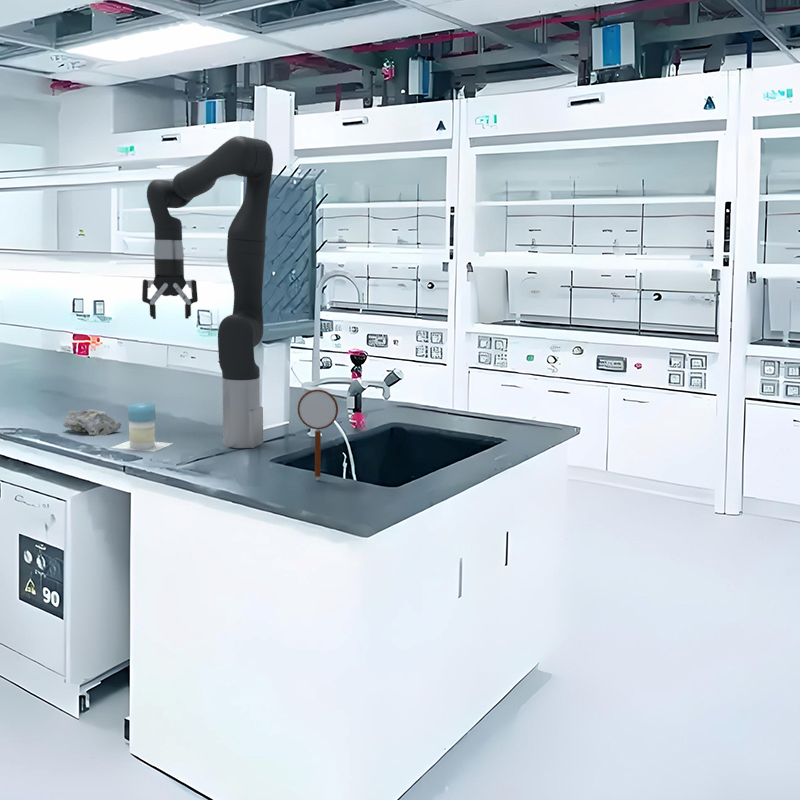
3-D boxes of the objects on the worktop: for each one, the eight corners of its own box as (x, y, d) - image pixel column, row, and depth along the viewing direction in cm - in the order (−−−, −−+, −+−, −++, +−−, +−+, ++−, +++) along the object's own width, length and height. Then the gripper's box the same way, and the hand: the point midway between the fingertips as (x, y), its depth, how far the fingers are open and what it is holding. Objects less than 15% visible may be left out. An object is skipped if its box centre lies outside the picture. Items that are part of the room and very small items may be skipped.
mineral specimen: (54, 434, 227) (53, 408, 226) (72, 429, 234) (71, 404, 233) (104, 439, 222) (103, 413, 221) (121, 434, 229) (120, 409, 228)
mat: (173, 444, 217) (173, 443, 217) (153, 453, 208) (153, 451, 208) (131, 441, 220) (131, 439, 220) (110, 449, 211) (110, 447, 211)
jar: (160, 445, 214) (159, 417, 213) (147, 450, 208) (146, 422, 207) (138, 443, 216) (137, 416, 215) (124, 448, 210) (123, 420, 209)
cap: (160, 417, 213) (160, 403, 212) (146, 422, 207) (146, 408, 206) (137, 416, 215) (137, 402, 214) (123, 420, 209) (122, 406, 208)
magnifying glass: (297, 481, 185) (297, 389, 182) (298, 479, 187) (298, 388, 184) (337, 482, 185) (337, 390, 182) (338, 480, 187) (338, 389, 183)
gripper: (194, 257, 234) (195, 317, 237) (140, 256, 229) (142, 317, 232) (198, 258, 227) (199, 319, 230) (142, 257, 222) (144, 320, 225)
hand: (170, 318), depth 231 cm, fingers open, 8 cm apart
